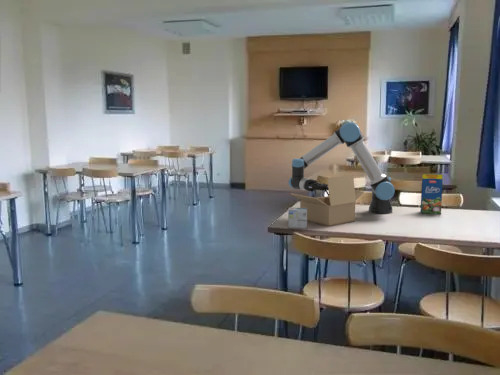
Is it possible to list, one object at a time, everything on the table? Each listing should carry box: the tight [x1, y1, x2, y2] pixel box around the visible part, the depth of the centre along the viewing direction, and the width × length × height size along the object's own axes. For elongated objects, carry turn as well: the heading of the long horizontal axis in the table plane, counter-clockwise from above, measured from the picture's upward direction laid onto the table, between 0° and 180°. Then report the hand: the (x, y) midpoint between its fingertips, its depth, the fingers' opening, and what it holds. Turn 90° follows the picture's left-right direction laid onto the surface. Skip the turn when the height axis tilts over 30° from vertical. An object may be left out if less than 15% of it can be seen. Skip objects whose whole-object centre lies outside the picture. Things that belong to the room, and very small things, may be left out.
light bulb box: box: [287, 207, 308, 229], centre depth 279 cm, size 11×7×11 cm, turn 84°
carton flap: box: [326, 174, 357, 206], centre depth 284 cm, size 16×21×1 cm
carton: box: [290, 189, 365, 228], centre depth 295 cm, size 25×40×17 cm, turn 127°
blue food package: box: [420, 173, 443, 215], centre depth 316 cm, size 6×12×25 cm, turn 75°
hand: (335, 189), depth 287 cm, fingers closed
